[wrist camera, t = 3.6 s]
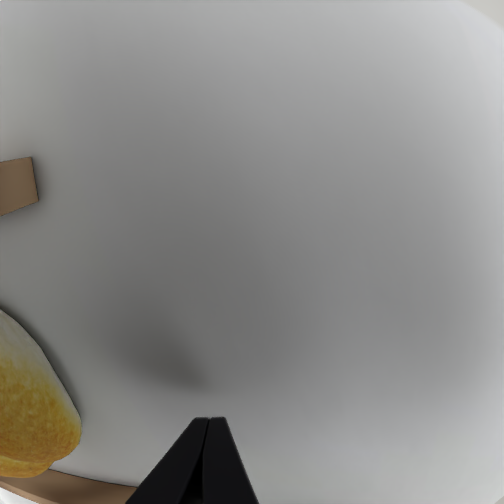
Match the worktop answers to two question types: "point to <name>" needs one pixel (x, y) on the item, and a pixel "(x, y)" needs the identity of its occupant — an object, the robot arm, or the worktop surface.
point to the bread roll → (31, 407)
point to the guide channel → (49, 482)
